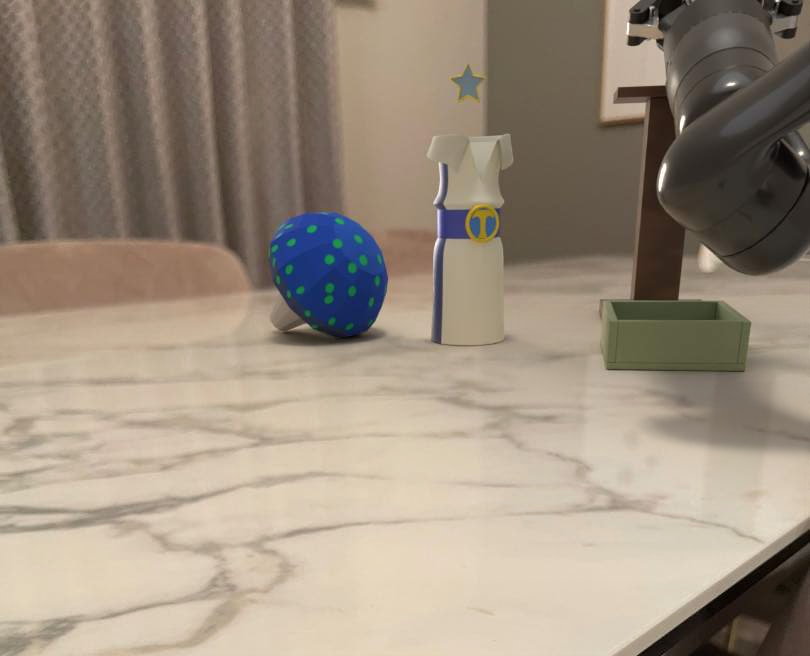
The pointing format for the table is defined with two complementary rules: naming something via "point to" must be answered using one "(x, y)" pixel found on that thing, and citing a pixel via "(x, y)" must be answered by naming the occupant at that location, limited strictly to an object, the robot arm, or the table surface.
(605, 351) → the tray
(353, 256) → the mushroom
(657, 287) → the stand
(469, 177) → the cream dress figure
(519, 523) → the table surface
